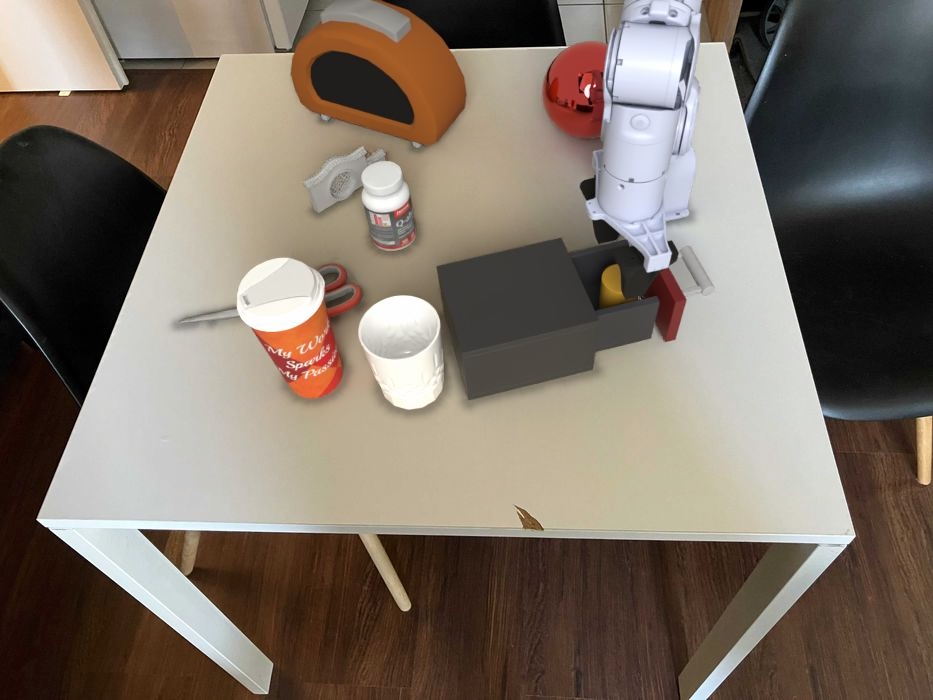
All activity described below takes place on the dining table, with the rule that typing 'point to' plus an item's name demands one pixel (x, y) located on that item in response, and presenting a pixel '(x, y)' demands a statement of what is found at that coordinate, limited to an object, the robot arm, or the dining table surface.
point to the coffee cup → (292, 324)
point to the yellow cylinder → (612, 289)
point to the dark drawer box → (518, 317)
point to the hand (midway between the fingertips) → (619, 266)
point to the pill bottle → (388, 206)
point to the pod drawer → (639, 316)
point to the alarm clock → (379, 71)
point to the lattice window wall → (331, 169)
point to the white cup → (404, 349)
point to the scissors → (330, 294)
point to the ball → (576, 89)
